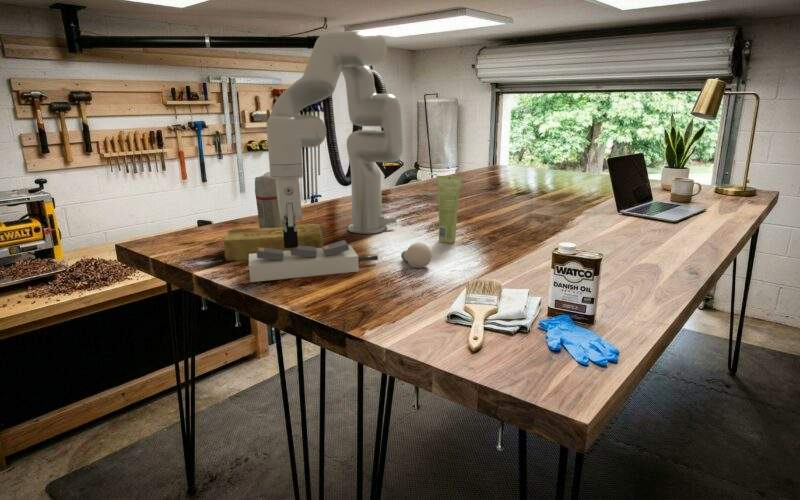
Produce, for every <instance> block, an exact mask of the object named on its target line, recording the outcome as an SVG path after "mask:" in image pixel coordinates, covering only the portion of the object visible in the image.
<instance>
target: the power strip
mask: <svg viewBox="0 0 800 500" xmlns="http://www.w3.org/2000/svg"><path fill="white" fill-rule="evenodd" d="M348 248H349V250H347V251H344V252H340V253H337V254H334V255H330V256H327V257H325V254H324V252H323V249H322V248H316V250H317V255H316V257H305V256H295V255H291V252H290V250H289V251H283V254H284V255H283V261H280V260H271V259H261V258H257V253H254V254H249V260H248V271H249V281H250V283H256V282H265V281H266V282H267V281H275V280H276V281H277V280H287V279H295V278H297V279H298V278H306V277H317V276H327V275H334V274H336V275H337V274H346V273H355V272H356V273H357V272H359V271H360V270H359V262H370V261H371V262H372V261H378V260H379V256H378V255H377V254H375V255H367V256H359V255H358V254H357V252H356V250H355V249H354V248H353V246H352V245H350V244H349V245H348Z"/></svg>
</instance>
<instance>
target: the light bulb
mask: <svg viewBox="0 0 800 500" xmlns="http://www.w3.org/2000/svg"><path fill="white" fill-rule="evenodd" d="M432 255H433V254H432V249H431V248H430V246H428V245H427V244H426V243H423V242H414V243H412V244H411V245H410V246H409V247H407V249H406V250H404V251H402V252H401V254H400V256H401V259H402V261H404V262H408V263H407V264H409V265H410V266H411V267H414V268H416V269H421V268H426V267H427V266H428V265H429V264H430V263H431V261H432Z"/></svg>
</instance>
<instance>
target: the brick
mask: <svg viewBox="0 0 800 500" xmlns="http://www.w3.org/2000/svg"><path fill="white" fill-rule="evenodd" d="M296 230H297V237H298V245H302V246H312V247H315V248H322V246H324V235H323V231H322V228H321V226H320V224H319V223H308V224H305V223H304V224H296ZM283 231H284V227H279V228H261V229H260V228H238V229H237V228H236V229H230V230H228V232H227V234H226V236H225V237H224V241H223V243H224V245H223V247H224V258H225V260H226V261H227V262H240V261H241V262H243V261H245V262H246V261H249V254H254V253H257V247H262V248H271V249H280V250H283V251H289V250H290V248H285V247H284V235H283Z"/></svg>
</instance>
